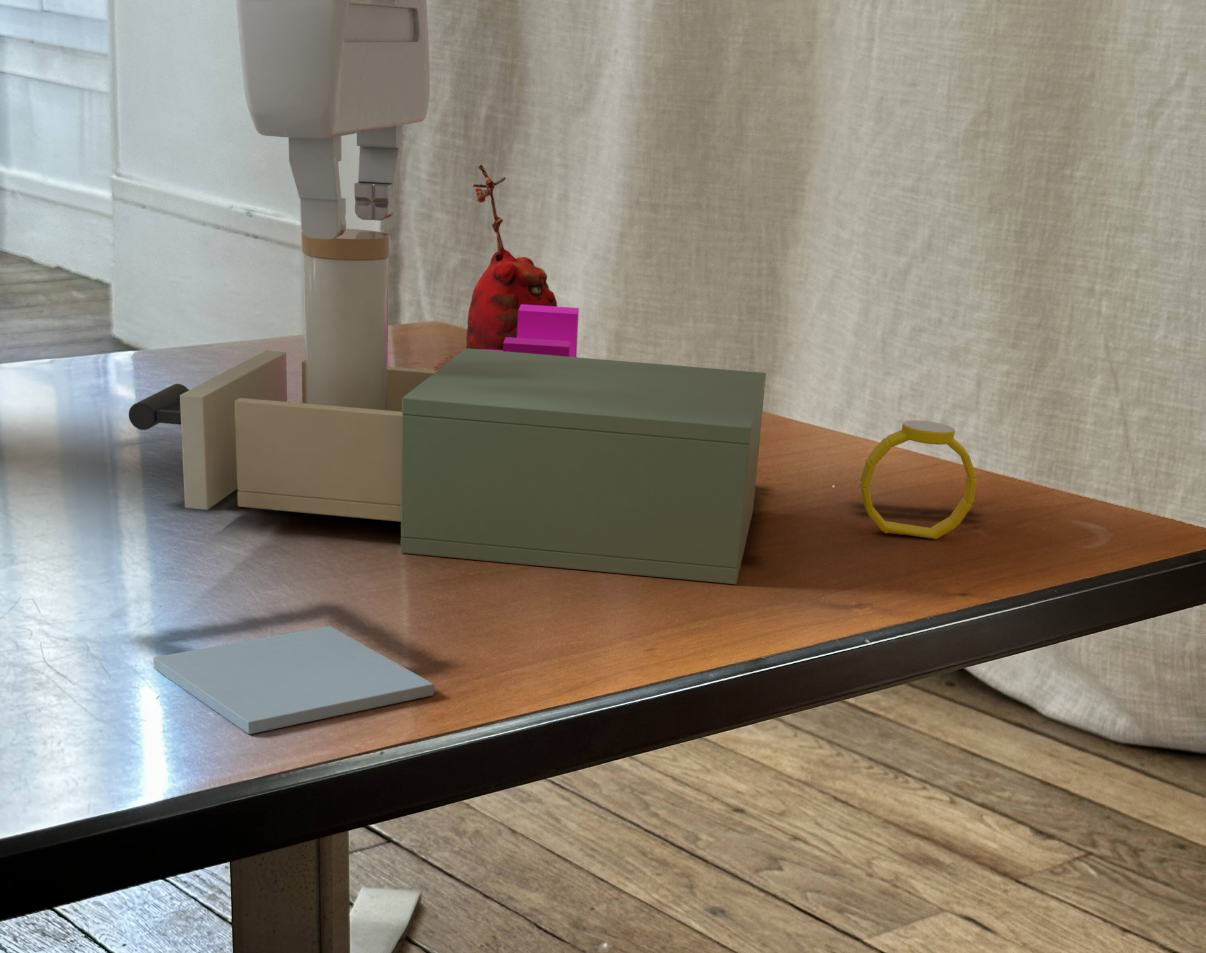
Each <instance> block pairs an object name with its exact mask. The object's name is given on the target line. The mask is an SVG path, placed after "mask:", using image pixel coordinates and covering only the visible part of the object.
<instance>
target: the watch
mask: <svg viewBox="0 0 1206 953" xmlns="http://www.w3.org/2000/svg"><path fill="white" fill-rule="evenodd" d="M955 432H956V431H955V428H954V427H952V426H950V425H947V424H944V423H940V422H936V421H929V420H917V419H916V420H913V419H910V420H905V421H903V422H902V425H901V429H900V430H898V431H895V432H893V433H890V434H889V435H886V437H883V439H881V441H880V442H879V443H878V444H877V445H876V447H874V449H872V450H871V452H870V453H869V454H868V456H867V458H866V459H865V462H864V466H863V469H862V473H861V477H860V484H859V486H860V490H861V495H862V501H863V506H864V508H865V512H866V513H867V515H868V517H869V518H870V519H871V520H872V522H873V523H874V524H875V525H876V527H878V529H879V530H880V531H881V532H882V533H884V534H895V535H900V536H901V535H904V536H905V535H906V536H913V537H919V538H925V539H932V540H938V539H940V538H941V537H943V536H945V535H947V534H948V533H949V532H951V531H953V530H955V529H957V526H960V524H961V523H962V521H963V520H964V519H965V517H966V516H967V514H968V513H969V512H970V510H971V509H972V507H973V504H974V502H975V496H976V488H977V482H978V480H977V473H976V470H975V468H974V465H973V462H972V459H971V458H970V457H971V456H970V454H969V453H968V451H967V450H966V449H965V446H963V445H962V444H961V443H960V442H959V441H958V440H956V439H955ZM908 441H912V442H915V443H921V444H928V445H938V446H939V445H940V446H941V445H943V446H945V445H947V446H948V447H949V448H950V449H952V450H953V451H954V452H955V453H956V454H957V455H958V456H959V457H960V459H961V462H962V465H963V468H964V471H965V473H966V476H965V483H964V488H963V497H962V498H961V499H960V501H959V502H958V504H957V505H956V507H955V508H954V510H953V511H952V513H951V514H950V515H949V516H948V517H946V518H945V519H942V520H941V521H939V522H937V523H936V524H933V525H932V526H931V527H927V526H920V525H914V524H907V523H901V522H894V521H888V520H885V519H884V518H883V517H882V516H881V514H880V513H879V512H878V511H877V509H875V507H874V506H873V502H872V497H871V491H870V485H871V482H872V478H873V475H874V471H875V468H876V466H877V464H878V463H879V462H880V461H881V460H882V458H884V457H885V455H887V453H888V452H890V450H891V449H892V448H893V447H896V446H899V445H901V444H903V443H906V442H908Z"/></svg>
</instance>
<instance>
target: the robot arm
mask: <svg viewBox="0 0 1206 953" xmlns="http://www.w3.org/2000/svg"><path fill="white" fill-rule="evenodd" d="M235 3H236V12H237V14H236V15H237V27H238V38H239V39H238V41H239V51H240V60H241V62H240V63H241V70H242V82H243V91H244V96H245V101H246V106H247V108H248V111H249V115H250V118H251V120H252V123H253V125H254V128H255V130H256V132H257V133H258V134H259V135H261V136H264V137H265V136H266V137H275V138H288V162H289V165H290V169H291V172H292V176H293V180H294V184H295V187H296V191H297V195H298V198H299V200H300V202H299V203H300V204H299V206H300V229H301V233H302V232H303V234H304V235H305V236H306V237H308V238H311V239H326V240H331V239H335V238H336V237H339V236H341V235H343V233H344V232H345V230H346V229H347V221H346V216H347V215H346V213H347V206H346V204H347V203H346V202H347V201H346V200H347V199H346V197H342V190H341V179H340V178H341V177H340V170H339V168H340V167H339V162H342V159H343V158H342V155H343V154H342V137H344V136H348V135H355V134H356V146H357V147H359V156H358V177H357V182H355V183H354V201H355V202H354V213H355V215H356V217H357V218H359V219H360V220H363V221H386V220H388V219H389V218H392V217H393V216H394V214H395V212H396V181H397V176H398V172H399V167H400V161H401V157H402V150H403V126H406V125H410V124H417V123H421V122H423V121H425V119H426V117H427V113H428V109H429V104H430V93H431V83H430V82H431V80H430V79H431V78H430V43H429V42H430V41H429V40H430V39H429V16H428V2H427V0H236V2H235Z"/></svg>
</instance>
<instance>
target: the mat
mask: <svg viewBox="0 0 1206 953" xmlns="http://www.w3.org/2000/svg"><path fill="white" fill-rule="evenodd" d="M153 669H154V670H155V671H157V672H158V673H160V674H161V675H163V676H164V677H166V678H167V679H168V680H170V681H171V682H173V683H174V684H175V685H177V686H178V687H180V688H182V689H183V690H184V691H186V692H187V693H188V694H190V695H191V696H193V697H194V698H196V699H197V700H198V701H200V702H201V703H203V704H204V705H206V706H207V707H209V708H210V709H212V710H213V711H214V712H215V713H217V714H219V715H220V716H222V717H223V718H224V719H226V720H227V721H229V722H230V723H232V724H233V725H234V726H236V727H237V728H239V729H240V730H242V731H243V732H245V733H246V734H247V735H252V734H257V733H262V732H266V731H272V730H276V729H281V728H287V727H290V726H295V725H300V724H304V723H309V722H310V723H311V722H315V721H318V720H319V721H320V720H323V719H324V720H325V719H329V718H333V717H339V716H342V715H347V714H352V713H357V712H361V711H366V710H371V709H377V708H380V707H385V706H391V705H394V704H400V703H404V702H408V701H414V700H418V699H422V698H429V697H432V696H434V695H435V694H434V693H435V692H434V691H435V685H434V683H433V682H431V681H430V680H427V679H426V678H424V677H422V676H420V675H419V674H417V673H415V672H413V671H411V670H410V669H408V668H406V667H404V666H403V665H400V664H399V663H397V662H396V661H394V660H391V659H390V658H388V657H386V656H385V655H383V654H381V653H379V652H377V651H376V650H374V649H372V648H370V647H369V646H366V644H363V643H361V642H359V641H358V640H356V639H354V638H353V637H351V636H349V635H347V634H345V632H341V631H340V630H339V629H337V628H334V626H331V625H328V626H322V627H316V628H311V629H305V630H300V631H296V632H295V631H294V632H289V633H283V634H277V635H272V636H265V637H260V638H255V639H249V640H243V641H238V642H232V643H227V644H220V645H215V646H210V647H203V648H198V649H193V650H187V651H181V652H175V653H170V654H165V655H158V656H154V657H153Z"/></svg>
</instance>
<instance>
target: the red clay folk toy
mask: <svg viewBox="0 0 1206 953" xmlns="http://www.w3.org/2000/svg"><path fill="white" fill-rule="evenodd" d="M477 168H478V169H479V170H480V171H481V174H482V175H483V177H484V178H485V184H481V183H473V185H472V187H473V188H475V192H474V196H475V201H476V202H478V203H484V202H485V201H486V198H487V197H489V196H490V204H491V208H492V209H491V210H492V215H493V223H492V224H491V227H492V229H493V232H494V233H495V234H496V244H497V250H496V251H495V252H494V253H493V255H492V256H491V259H490V262H489V265H488V267H487V268H486V269H485V270H484V272H483V273H482V275H481V276H480V278H479V279H478V281H477V283H476V284H475V286H474V288H473V291H472V294H471V300H470V305H469V308H468V314H467V322H466V324H467V330H466V338H465V339H466V347H465V349H466V348H468V349H487V350H503V342H504V340H505V338H506V337H512V338H517V325H518V310H519V308H520V305H521V304H524V305H540V306H556V307H558V302H557V299H556V295H555V292H553V291H552V290H550V287H549V284H548V282H547V279H548V275H547V273H546V272H545V270H544V269H543V268H540V267H538V266H536V265H535V264H534V262H533V261H532V259H531V258H529V257H527V256H521V257H515V256H514V255H513V254H512V253H511V252H510V251H509V250H507V249H505V247H504V244H503V240H502V236H501V232H500V227H501V224H502V223H503V222H504V220H503V218H501V217H499V215H498V213H497V206H496V202H495V197H494V189H495V187H496V186H497V185H499V184H501V183H503V182H505V180H506V179H507V178H506V176H502V178H500V179H498V180H497V181H495V182H494V181H493V180H492V179H491V178H490V177H489V175H488V173H487V171H486V169H485V168H484V166H483V164H480V165H479V166H478V165H477ZM483 188H484V189H483Z"/></svg>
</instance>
